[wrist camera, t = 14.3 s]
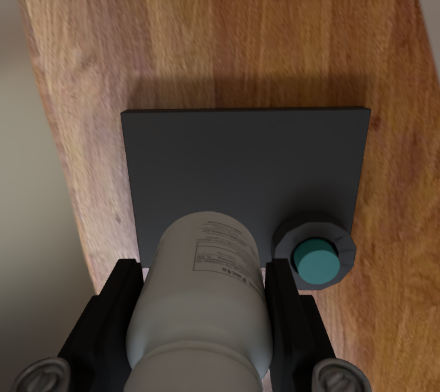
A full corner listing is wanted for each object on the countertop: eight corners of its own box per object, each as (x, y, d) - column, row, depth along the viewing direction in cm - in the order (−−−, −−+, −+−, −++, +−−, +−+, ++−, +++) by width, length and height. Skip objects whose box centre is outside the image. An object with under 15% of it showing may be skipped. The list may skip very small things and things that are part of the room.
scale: (362, 106, 21) (383, 112, 18) (338, 266, 26) (351, 290, 23) (126, 109, 21) (111, 116, 19) (146, 266, 26) (136, 290, 24)
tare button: (335, 237, 22) (342, 250, 21) (330, 271, 23) (337, 284, 22) (295, 238, 22) (299, 250, 21) (292, 271, 23) (296, 284, 22)
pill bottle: (188, 304, 15) (154, 520, 8) (140, 232, 14) (45, 418, 6) (273, 272, 14) (320, 480, 7) (231, 192, 13) (239, 352, 6)
